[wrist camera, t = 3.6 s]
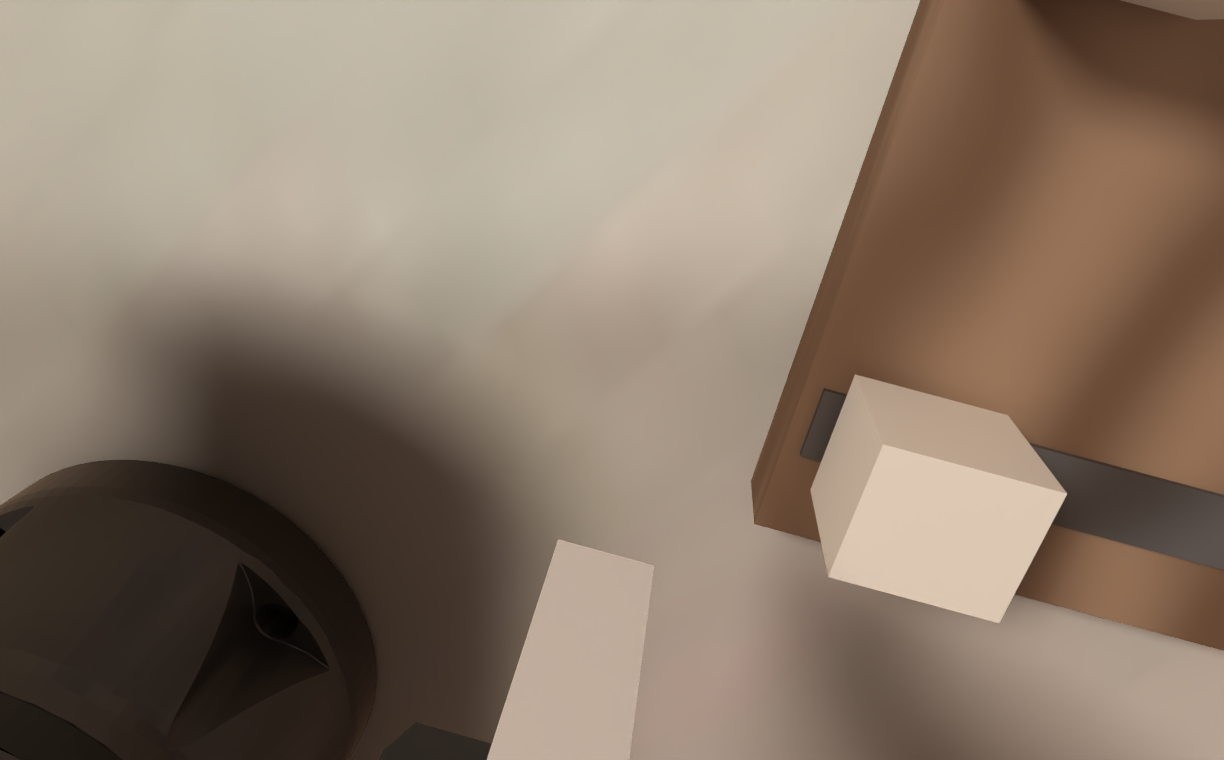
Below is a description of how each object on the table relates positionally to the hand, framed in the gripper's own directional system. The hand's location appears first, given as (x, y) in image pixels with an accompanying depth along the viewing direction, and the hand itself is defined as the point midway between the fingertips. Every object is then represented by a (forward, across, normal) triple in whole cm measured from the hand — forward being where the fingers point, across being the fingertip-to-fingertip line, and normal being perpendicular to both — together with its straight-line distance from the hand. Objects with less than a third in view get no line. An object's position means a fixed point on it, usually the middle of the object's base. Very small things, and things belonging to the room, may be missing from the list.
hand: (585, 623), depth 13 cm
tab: (+10, -7, 0) cm, 12 cm away
